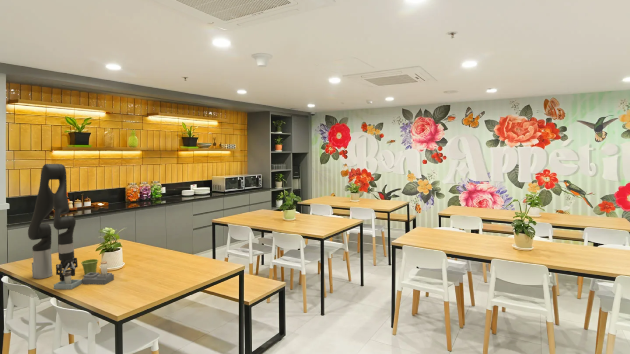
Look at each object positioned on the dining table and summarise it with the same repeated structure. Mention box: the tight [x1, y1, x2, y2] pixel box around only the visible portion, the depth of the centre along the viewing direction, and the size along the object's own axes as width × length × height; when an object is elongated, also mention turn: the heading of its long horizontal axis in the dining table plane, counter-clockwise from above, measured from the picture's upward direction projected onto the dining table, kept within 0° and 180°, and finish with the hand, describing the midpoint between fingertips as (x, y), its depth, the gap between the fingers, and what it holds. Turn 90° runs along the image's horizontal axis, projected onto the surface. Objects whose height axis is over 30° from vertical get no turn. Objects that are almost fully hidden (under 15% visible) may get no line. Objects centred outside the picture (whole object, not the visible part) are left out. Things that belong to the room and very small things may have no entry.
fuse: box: [100, 260, 108, 276], centre depth 224 cm, size 3×3×9 cm
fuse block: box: [81, 272, 115, 285], centre depth 225 cm, size 14×9×4 cm, turn 87°
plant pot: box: [80, 258, 99, 275], centre depth 237 cm, size 9×9×9 cm
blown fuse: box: [64, 268, 72, 284], centre depth 217 cm, size 3×3×9 cm
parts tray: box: [53, 278, 83, 290], centre depth 217 cm, size 11×9×3 cm
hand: (67, 278), depth 217 cm, fingers open, 8 cm apart
